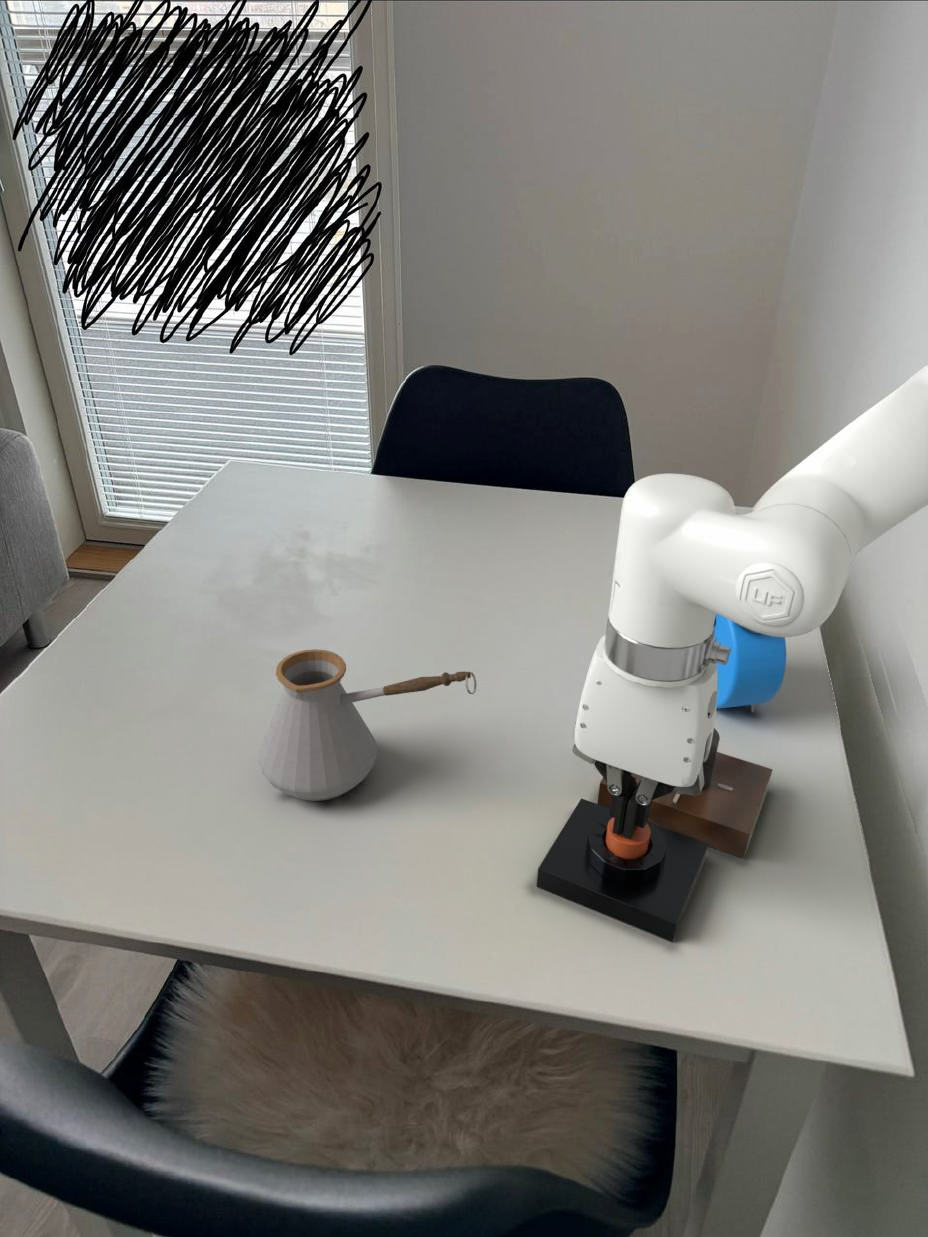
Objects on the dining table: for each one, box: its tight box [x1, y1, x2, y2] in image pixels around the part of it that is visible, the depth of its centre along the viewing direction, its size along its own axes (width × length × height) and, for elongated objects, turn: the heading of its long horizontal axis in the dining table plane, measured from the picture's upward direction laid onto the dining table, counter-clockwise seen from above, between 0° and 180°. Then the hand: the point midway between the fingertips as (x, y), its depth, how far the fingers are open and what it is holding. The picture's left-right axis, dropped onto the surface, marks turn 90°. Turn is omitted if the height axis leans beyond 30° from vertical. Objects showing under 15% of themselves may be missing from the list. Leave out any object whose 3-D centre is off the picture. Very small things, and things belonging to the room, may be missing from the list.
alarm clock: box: [714, 613, 787, 713], centre depth 96 cm, size 13×6×15 cm, turn 11°
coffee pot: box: [258, 648, 477, 802], centre depth 82 cm, size 21×12×15 cm, turn 76°
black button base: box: [536, 797, 709, 943], centre depth 76 cm, size 12×10×4 cm
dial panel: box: [596, 751, 773, 859], centre depth 84 cm, size 14×10×3 cm
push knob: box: [606, 818, 651, 859], centre depth 74 cm, size 4×4×2 cm
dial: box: [703, 727, 721, 788], centre depth 82 cm, size 4×4×5 cm
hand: (627, 825), depth 74 cm, fingers closed
